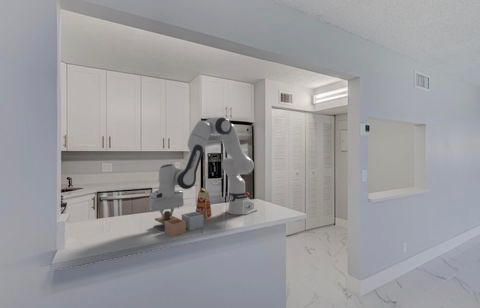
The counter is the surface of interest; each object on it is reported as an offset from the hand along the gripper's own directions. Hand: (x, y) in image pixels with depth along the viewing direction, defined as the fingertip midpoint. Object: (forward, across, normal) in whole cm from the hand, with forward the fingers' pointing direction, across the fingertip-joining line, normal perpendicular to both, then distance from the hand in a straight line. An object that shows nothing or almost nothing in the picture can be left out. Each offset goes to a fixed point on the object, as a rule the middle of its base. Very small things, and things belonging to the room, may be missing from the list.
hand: (167, 216), depth 136 cm
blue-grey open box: (+6, -11, +9) cm, 16 cm away
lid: (+2, 0, 0) cm, 2 cm away
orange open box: (+6, +1, +11) cm, 13 cm away
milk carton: (+6, -26, -2) cm, 27 cm away
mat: (+6, 0, 0) cm, 6 cm away
